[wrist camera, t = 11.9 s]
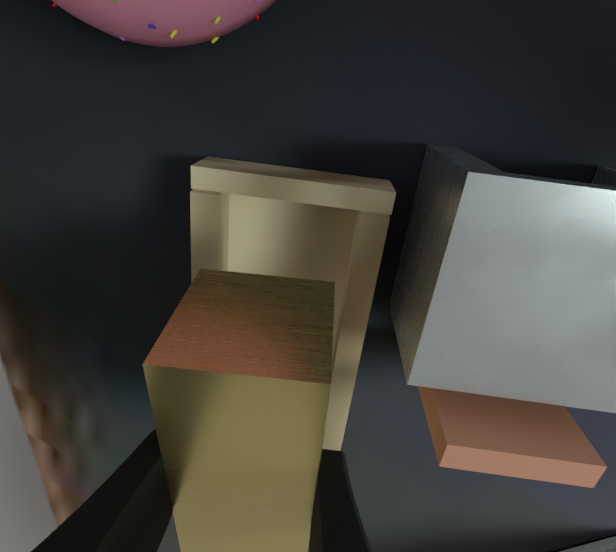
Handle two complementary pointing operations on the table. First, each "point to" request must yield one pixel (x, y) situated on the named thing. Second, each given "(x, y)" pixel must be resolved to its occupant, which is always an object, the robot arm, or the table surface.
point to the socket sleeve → (509, 284)
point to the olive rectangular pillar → (243, 408)
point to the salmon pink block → (509, 438)
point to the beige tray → (298, 245)
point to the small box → (596, 546)
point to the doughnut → (166, 18)
